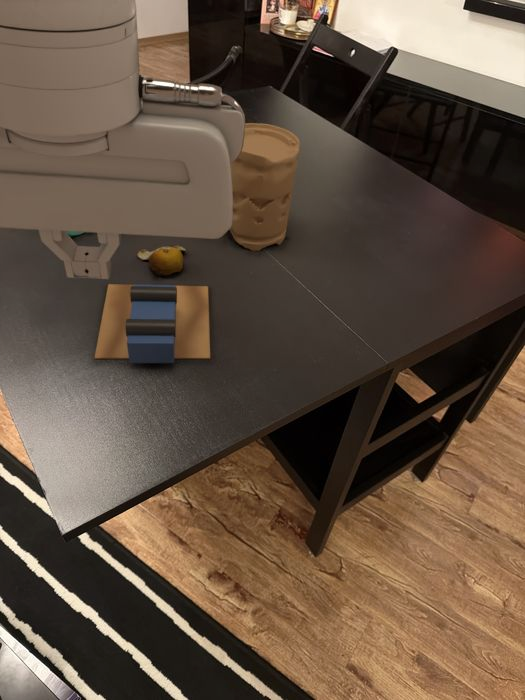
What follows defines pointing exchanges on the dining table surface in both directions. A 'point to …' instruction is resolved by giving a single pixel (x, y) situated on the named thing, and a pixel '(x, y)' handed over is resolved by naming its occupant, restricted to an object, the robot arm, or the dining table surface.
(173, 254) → the fruit
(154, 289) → the toy car
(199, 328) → the brown flat square board
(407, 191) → the dining table surface
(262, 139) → the container
